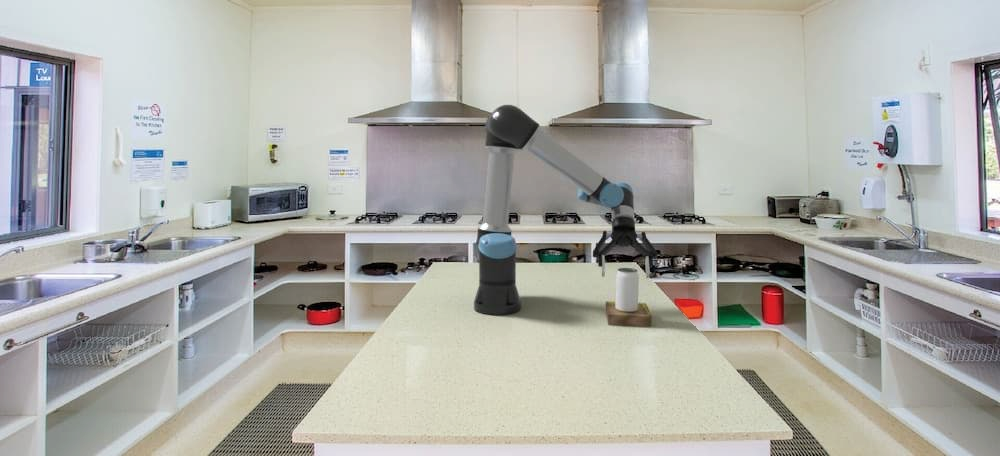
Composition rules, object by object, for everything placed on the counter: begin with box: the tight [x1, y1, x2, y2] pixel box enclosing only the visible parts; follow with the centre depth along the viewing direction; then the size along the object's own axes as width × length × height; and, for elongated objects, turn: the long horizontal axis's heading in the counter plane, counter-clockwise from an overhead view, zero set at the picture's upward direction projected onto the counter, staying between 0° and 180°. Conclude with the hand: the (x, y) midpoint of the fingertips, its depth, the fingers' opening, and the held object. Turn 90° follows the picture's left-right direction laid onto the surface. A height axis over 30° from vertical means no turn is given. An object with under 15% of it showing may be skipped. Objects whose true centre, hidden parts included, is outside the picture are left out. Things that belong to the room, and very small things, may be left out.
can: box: [614, 267, 640, 312], centre depth 147 cm, size 6×6×12 cm
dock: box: [605, 301, 653, 328], centre depth 148 cm, size 12×12×4 cm
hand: (625, 275), depth 156 cm, fingers open, 13 cm apart
